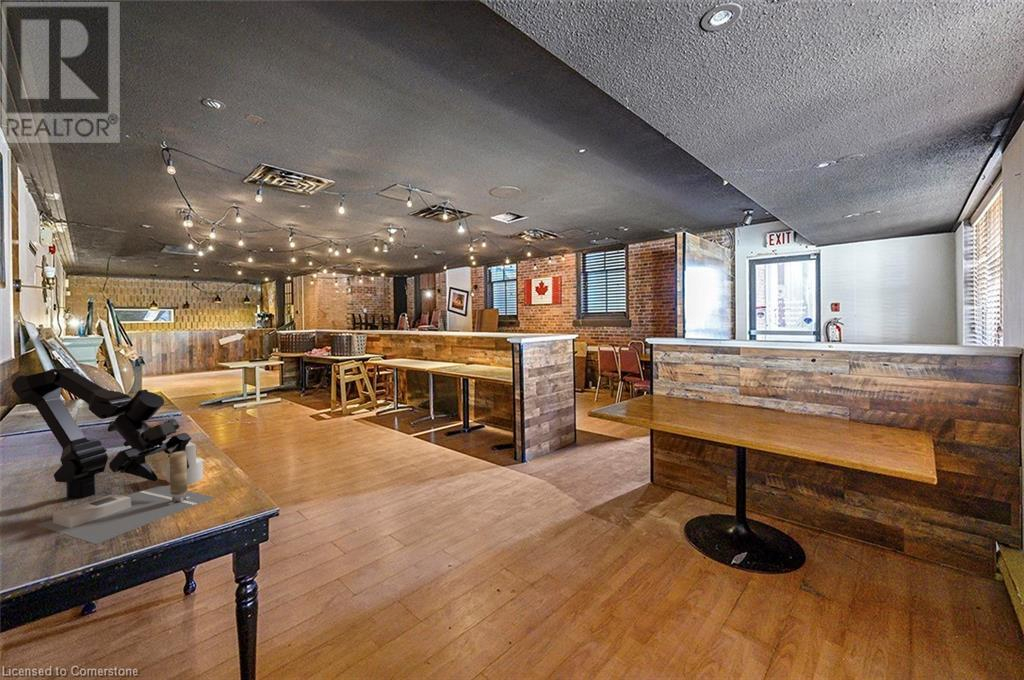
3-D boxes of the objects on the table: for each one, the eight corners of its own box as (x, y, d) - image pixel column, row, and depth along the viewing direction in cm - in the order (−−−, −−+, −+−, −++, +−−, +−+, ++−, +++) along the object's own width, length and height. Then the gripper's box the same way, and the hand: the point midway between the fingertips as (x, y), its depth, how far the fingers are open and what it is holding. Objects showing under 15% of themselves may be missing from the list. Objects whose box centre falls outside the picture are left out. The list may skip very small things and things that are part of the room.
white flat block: (53, 522, 100) (52, 512, 100) (114, 502, 111) (114, 493, 111) (69, 528, 98) (69, 517, 98) (131, 506, 109) (130, 497, 109)
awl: (167, 503, 111) (166, 455, 110) (175, 498, 114) (174, 451, 114) (182, 502, 112) (181, 455, 111) (190, 497, 115) (189, 450, 115)
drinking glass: (208, 479, 131) (207, 442, 131) (173, 488, 124) (172, 449, 123) (196, 473, 136) (195, 437, 136) (162, 482, 129) (161, 444, 128)
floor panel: (36, 529, 99) (35, 524, 99) (159, 489, 123) (159, 484, 123) (95, 549, 91) (95, 543, 91) (215, 501, 115) (215, 497, 115)
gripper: (117, 420, 104) (157, 466, 103) (185, 405, 122) (219, 444, 121) (91, 449, 105) (130, 495, 104) (161, 430, 123) (195, 469, 122)
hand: (172, 473), depth 113 cm, fingers open, 9 cm apart
